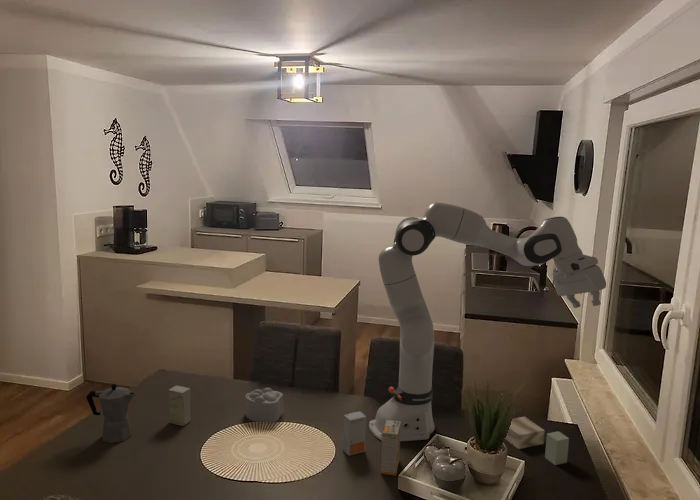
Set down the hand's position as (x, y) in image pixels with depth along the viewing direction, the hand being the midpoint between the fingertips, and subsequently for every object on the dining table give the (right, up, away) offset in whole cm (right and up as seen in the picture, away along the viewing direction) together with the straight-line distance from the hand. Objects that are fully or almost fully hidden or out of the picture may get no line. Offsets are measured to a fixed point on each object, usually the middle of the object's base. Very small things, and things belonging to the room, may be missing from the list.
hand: (587, 306), depth 169 cm
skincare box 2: (-73, -46, 0) cm, 86 cm away
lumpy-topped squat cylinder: (-106, -41, +22) cm, 116 cm away
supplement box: (-63, -47, -9) cm, 79 cm away
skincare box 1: (-133, -42, +16) cm, 141 cm away
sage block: (-11, -47, -4) cm, 48 cm away
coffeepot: (-152, -43, +6) cm, 158 cm away
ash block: (-18, -45, +9) cm, 49 cm away
